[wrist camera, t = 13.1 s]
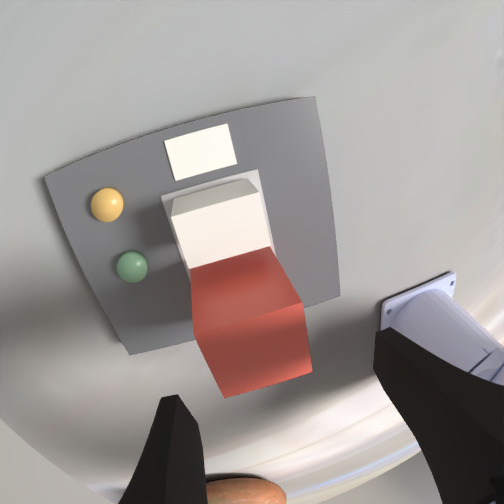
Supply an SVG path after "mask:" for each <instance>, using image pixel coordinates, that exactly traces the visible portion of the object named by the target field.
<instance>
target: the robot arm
mask: <svg viewBox="0 0 504 504" xmlns="http://www.w3.org/2000/svg"><path fill="white" fill-rule="evenodd" d="M455 282H456V273H454V272H450V273H448V274H446V275H444V276H441V277H439V278H437V279H435V280H432V281H430V282H428V283H426V284H423V285H421V286H419V287H416V288H414V289H412V290H409V291H407V292H405V293H402V294H400V295H397V296H395V297H392V298H390V299H387V300H386V301H384V303H383V304H382V312H381V328H380V331H379V332H376V338H375V352H374V364H373V369H374V371H375V373H376V375H377V377H378V379H379V381H380V383H381V385H382V387H383V389H384V391H385V392H386V394H387V395H388V397H389V398H390V400H391V401H392V403H393V404H394V406H395V407H396V409H397V410H398V412H399V413H400V415H401V416H402V418H403V419H404V421H405V422H406V424H407V425H408V427H409V428H410V430H411V431H412V433H413V435H414V436H415V438H416V440H417V442H418V444H419V446H420V448H421V450H422V452H423V454H424V456H425V458H426V460H427V463H428V465H429V467H430V470H431V472H432V475H433V477H434V480H435V482H436V485H437V488H438V490H439V493H440V497H441V500H442V503H443V504H504V346H503V345H502V344H501V343H500V342H499V341H498V340H497V339H495V338H494V337H493V336H492V335H491V334H490V333H489V332H488V331H487V330H486V329H485V328H484V327H483V326H482V325H481V324H480V323H479V322H478V321H477V320H476V319H474V318H473V317H472V316H471V315H470V314H469V313H468V312H467V311H466V310H465V309H464V308H462V307H461V306H460V305H459V304H458V303H457V302H456V301H455V300H453V299H452V298H453V293H454V288H455ZM118 504H208V500H207V491H206V481H205V469H204V457H203V447H202V442H201V436H200V432H199V427H198V423H197V422H196V420H195V419H194V417H193V416H192V415H191V413H190V412H189V410H188V409H187V407H186V406H185V405H184V403H183V402H182V400H181V399H180V397H179V396H178V394H177V395H172V396H167V397H162V398H161V399H160V402H159V405H158V408H157V412H156V415H155V418H154V421H153V424H152V427H151V430H150V433H149V436H148V439H147V441H146V444H145V447H144V450H143V452H142V455H141V457H140V460H139V462H138V465H137V467H136V469H135V472H134V474H133V476H132V478H131V481H130V483H129V485H128V487H127V489H126V491H125V492H124V494H123V496H122V498H121V500H120V501H119V503H118Z"/></svg>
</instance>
